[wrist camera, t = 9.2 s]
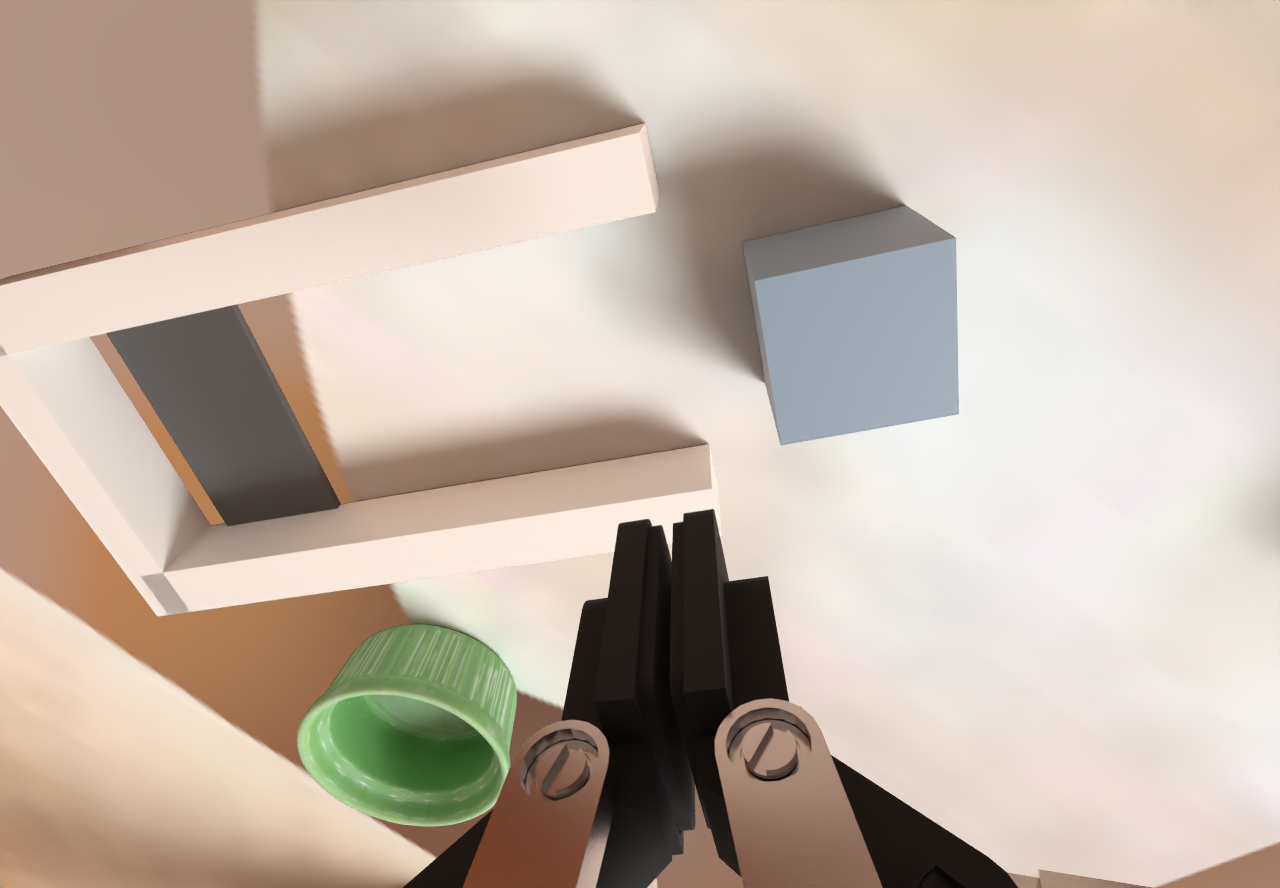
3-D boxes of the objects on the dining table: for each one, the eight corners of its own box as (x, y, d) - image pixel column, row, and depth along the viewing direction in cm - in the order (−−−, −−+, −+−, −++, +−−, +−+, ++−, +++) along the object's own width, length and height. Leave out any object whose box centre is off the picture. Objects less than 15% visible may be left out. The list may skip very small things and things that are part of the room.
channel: (718, 488, 26) (721, 536, 23) (204, 567, 30) (157, 616, 27) (645, 122, 20) (639, 132, 17) (8, 276, 24) (-76, 304, 21)
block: (912, 354, 23) (958, 413, 19) (764, 382, 24) (780, 445, 20) (904, 204, 21) (955, 237, 17) (741, 241, 22) (754, 280, 18)
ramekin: (340, 593, 30) (290, 671, 26) (541, 633, 31) (520, 715, 27) (341, 724, 34) (298, 806, 31) (516, 757, 35) (496, 842, 31)
